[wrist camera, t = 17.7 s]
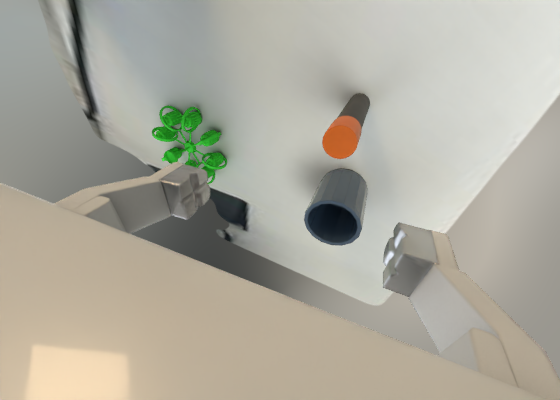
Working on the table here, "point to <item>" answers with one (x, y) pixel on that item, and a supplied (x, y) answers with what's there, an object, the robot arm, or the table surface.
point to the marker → (346, 128)
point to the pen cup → (337, 208)
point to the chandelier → (206, 139)
